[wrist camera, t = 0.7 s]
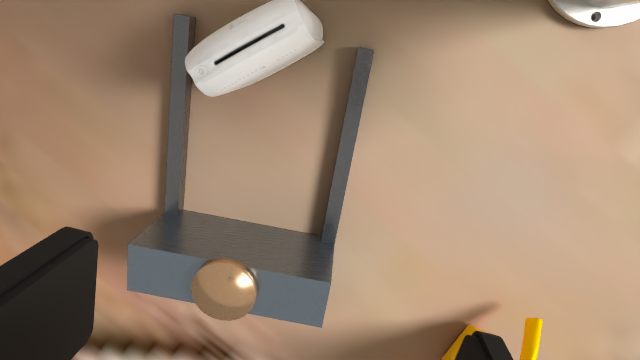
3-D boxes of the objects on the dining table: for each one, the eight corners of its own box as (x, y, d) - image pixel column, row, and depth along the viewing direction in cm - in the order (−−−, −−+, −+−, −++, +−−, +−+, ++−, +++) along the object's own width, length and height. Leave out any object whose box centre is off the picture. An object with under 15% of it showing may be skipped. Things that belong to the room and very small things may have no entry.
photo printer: (240, 92, 40) (195, 109, 28) (219, 52, 39) (163, 53, 27) (331, 44, 38) (322, 41, 26) (311, 1, 37) (293, -22, 25)
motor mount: (180, 15, 38) (124, 3, 29) (373, 50, 38) (380, 49, 28) (168, 249, 47) (121, 300, 37) (326, 280, 46) (320, 339, 37)
